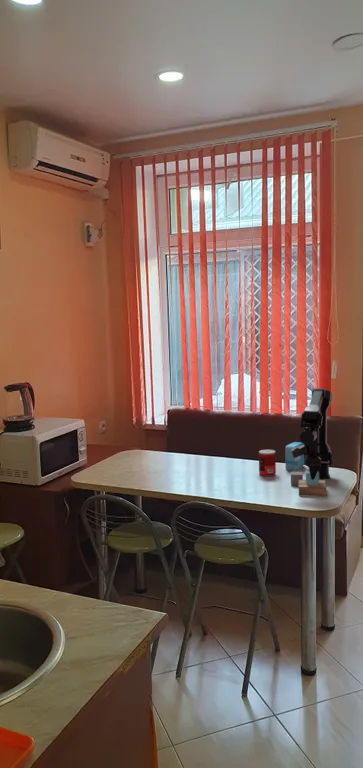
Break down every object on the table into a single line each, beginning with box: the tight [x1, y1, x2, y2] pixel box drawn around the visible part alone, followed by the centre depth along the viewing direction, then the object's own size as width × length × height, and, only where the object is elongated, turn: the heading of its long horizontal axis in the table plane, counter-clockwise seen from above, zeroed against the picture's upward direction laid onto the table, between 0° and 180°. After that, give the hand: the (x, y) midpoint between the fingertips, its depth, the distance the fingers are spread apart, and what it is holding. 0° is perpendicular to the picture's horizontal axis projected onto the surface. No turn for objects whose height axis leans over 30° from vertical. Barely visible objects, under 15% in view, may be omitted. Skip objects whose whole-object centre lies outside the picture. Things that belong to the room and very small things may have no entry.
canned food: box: [258, 449, 277, 477], centre depth 273 cm, size 8×8×11 cm
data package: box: [284, 441, 305, 472], centre depth 282 cm, size 12×4×12 cm, turn 145°
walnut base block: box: [298, 479, 327, 497], centre depth 244 cm, size 11×11×4 cm
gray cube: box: [290, 471, 304, 487], centre depth 255 cm, size 5×5×5 cm
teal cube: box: [305, 469, 320, 485], centre depth 243 cm, size 5×5×5 cm
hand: (312, 476), depth 243 cm, fingers open, 9 cm apart
